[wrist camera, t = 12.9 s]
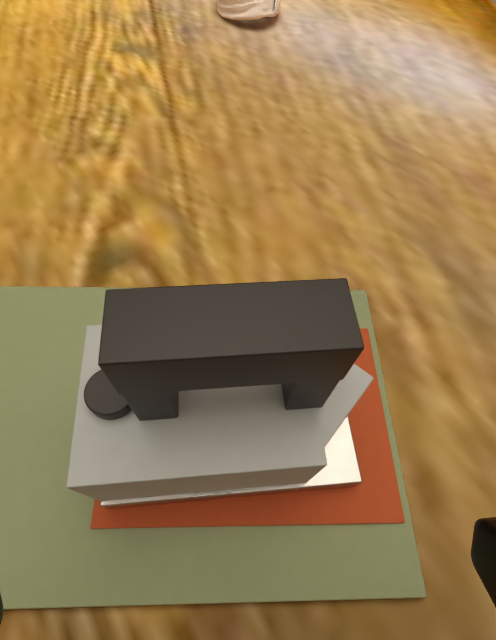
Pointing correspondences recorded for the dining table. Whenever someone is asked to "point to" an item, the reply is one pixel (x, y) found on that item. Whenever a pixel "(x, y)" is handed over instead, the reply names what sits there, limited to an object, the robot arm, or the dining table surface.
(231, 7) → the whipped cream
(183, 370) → the iron
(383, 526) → the ironing mat
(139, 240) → the dining table surface
